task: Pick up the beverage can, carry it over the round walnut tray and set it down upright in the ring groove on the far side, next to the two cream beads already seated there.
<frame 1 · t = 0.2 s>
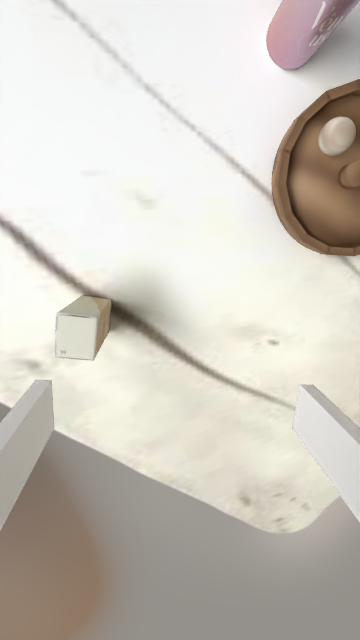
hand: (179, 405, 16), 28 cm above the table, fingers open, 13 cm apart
beverage can: (288, 44, 36), on the table
bead b: (327, 141, 38), point 1 cm above the table, touching tray
box: (95, 313, 42), on the table
tray: (344, 178, 40), on the table
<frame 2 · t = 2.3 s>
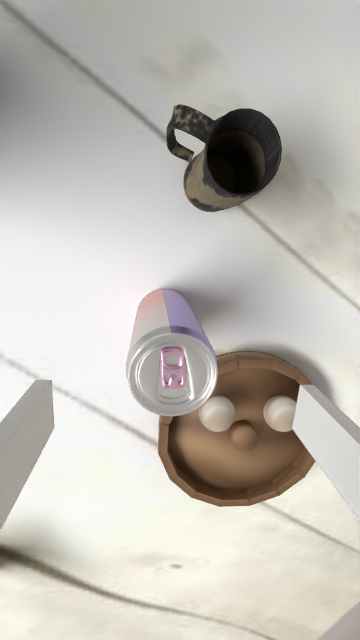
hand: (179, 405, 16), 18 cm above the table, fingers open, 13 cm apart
beverage can: (164, 314, 33), on the table
bead b: (213, 403, 35), point 1 cm above the table, touching tray
bead a: (274, 403, 36), point 1 cm above the table, touching tray
mug: (201, 178, 30), on the table
tray: (238, 425, 38), on the table
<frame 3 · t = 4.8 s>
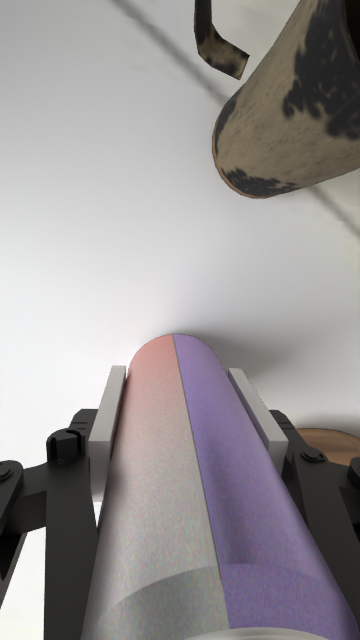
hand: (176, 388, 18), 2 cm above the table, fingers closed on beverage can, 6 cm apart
beverage can: (174, 372, 20), on the table, touching gripper
mug: (244, 137, 16), on the table
tray: (288, 536, 24), on the table
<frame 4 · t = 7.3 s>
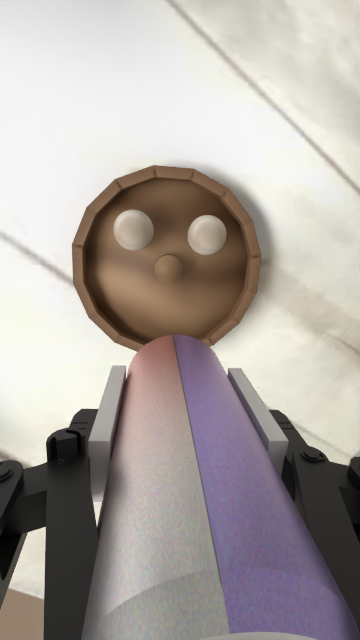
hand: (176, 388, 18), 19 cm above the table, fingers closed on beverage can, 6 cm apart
beverage can: (174, 373, 20), point 17 cm above the table, touching gripper
bead b: (134, 230, 32), point 1 cm above the table, touching tray
bead a: (203, 235, 33), point 1 cm above the table, touching tray
tray: (167, 267, 35), on the table
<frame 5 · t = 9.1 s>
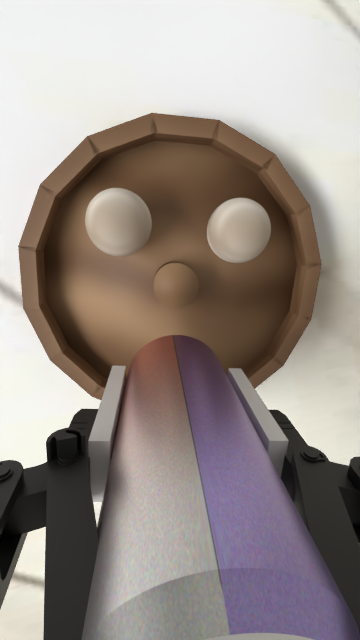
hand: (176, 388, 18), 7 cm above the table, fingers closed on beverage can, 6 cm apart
beverage can: (174, 373, 20), point 5 cm above the table, touching gripper
bead b: (122, 224, 20), point 1 cm above the table, touching tray
bead a: (230, 231, 21), point 1 cm above the table, touching tray
tray: (173, 280, 23), on the table
when the fingers open (4 cm above the table, at t = 10.3 s): beverage can drops 1 cm, resting on tray.
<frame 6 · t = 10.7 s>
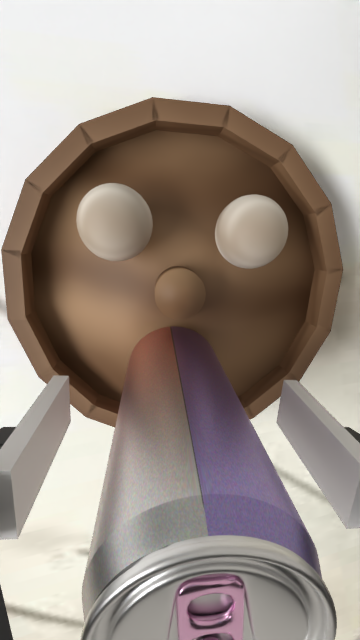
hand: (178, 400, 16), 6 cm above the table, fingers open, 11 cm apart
beverage can: (172, 363, 21), point 1 cm above the table, touching tray
bead b: (119, 225, 18), point 1 cm above the table, touching tray
bead a: (240, 233, 19), point 1 cm above the table, touching tray
tray: (176, 286, 20), on the table
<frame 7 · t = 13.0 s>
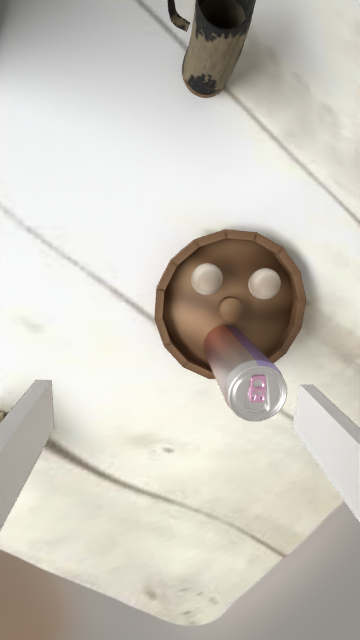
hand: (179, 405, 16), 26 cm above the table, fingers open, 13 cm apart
beverage can: (223, 343, 42), point 1 cm above the table, touching tray
bead b: (204, 277, 40), point 1 cm above the table, touching tray
bead a: (259, 282, 41), point 1 cm above the table, touching tray
mug: (197, 67, 35), on the table
tray: (227, 305, 42), on the table
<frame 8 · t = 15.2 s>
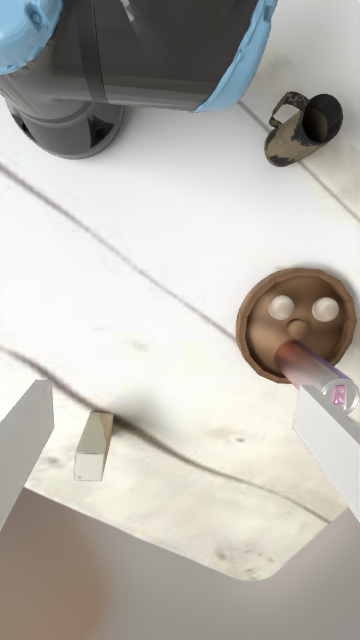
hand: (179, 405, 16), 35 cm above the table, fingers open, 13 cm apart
beverage can: (288, 355, 53), point 1 cm above the table, touching tray
bead b: (276, 304, 50), point 1 cm above the table, touching tray
bead a: (318, 306, 51), point 1 cm above the table, touching tray
box: (101, 422, 55), on the table
mug: (275, 144, 45), on the table
tray: (291, 325, 53), on the table
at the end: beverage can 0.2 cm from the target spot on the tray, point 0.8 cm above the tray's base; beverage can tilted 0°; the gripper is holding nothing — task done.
